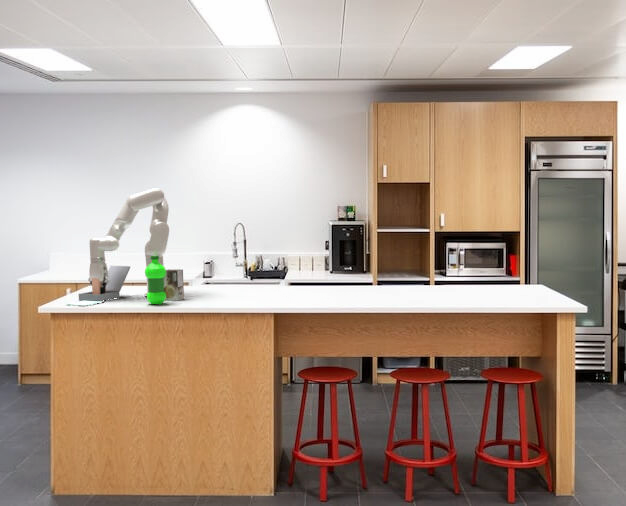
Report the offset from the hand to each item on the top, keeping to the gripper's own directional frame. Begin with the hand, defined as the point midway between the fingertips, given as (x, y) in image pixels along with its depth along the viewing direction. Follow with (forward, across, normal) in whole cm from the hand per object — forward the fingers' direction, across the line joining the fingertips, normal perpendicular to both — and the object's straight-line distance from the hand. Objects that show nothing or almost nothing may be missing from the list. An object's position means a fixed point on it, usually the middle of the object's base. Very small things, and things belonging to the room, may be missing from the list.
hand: (99, 293), depth 391 cm
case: (+4, +1, -5) cm, 6 cm away
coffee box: (+4, -39, -16) cm, 42 cm away
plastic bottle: (+4, -41, 0) cm, 41 cm away
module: (+4, 0, 0) cm, 4 cm away
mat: (+3, -4, +14) cm, 15 cm away
